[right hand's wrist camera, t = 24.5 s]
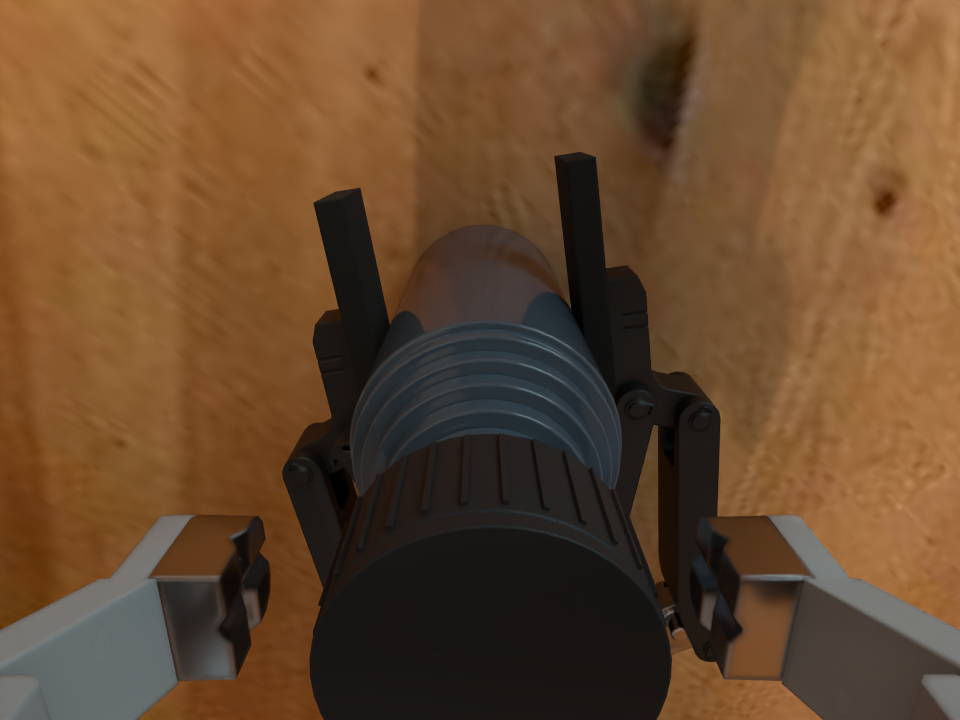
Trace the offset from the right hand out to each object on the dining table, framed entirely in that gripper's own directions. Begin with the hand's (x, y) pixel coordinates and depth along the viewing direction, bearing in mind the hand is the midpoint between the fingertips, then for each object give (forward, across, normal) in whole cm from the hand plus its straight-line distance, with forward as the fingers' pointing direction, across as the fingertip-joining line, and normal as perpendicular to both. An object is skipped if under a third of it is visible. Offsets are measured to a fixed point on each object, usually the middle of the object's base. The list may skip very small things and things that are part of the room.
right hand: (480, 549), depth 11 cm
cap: (-2, 0, 0) cm, 2 cm away
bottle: (+16, 0, 0) cm, 16 cm away
